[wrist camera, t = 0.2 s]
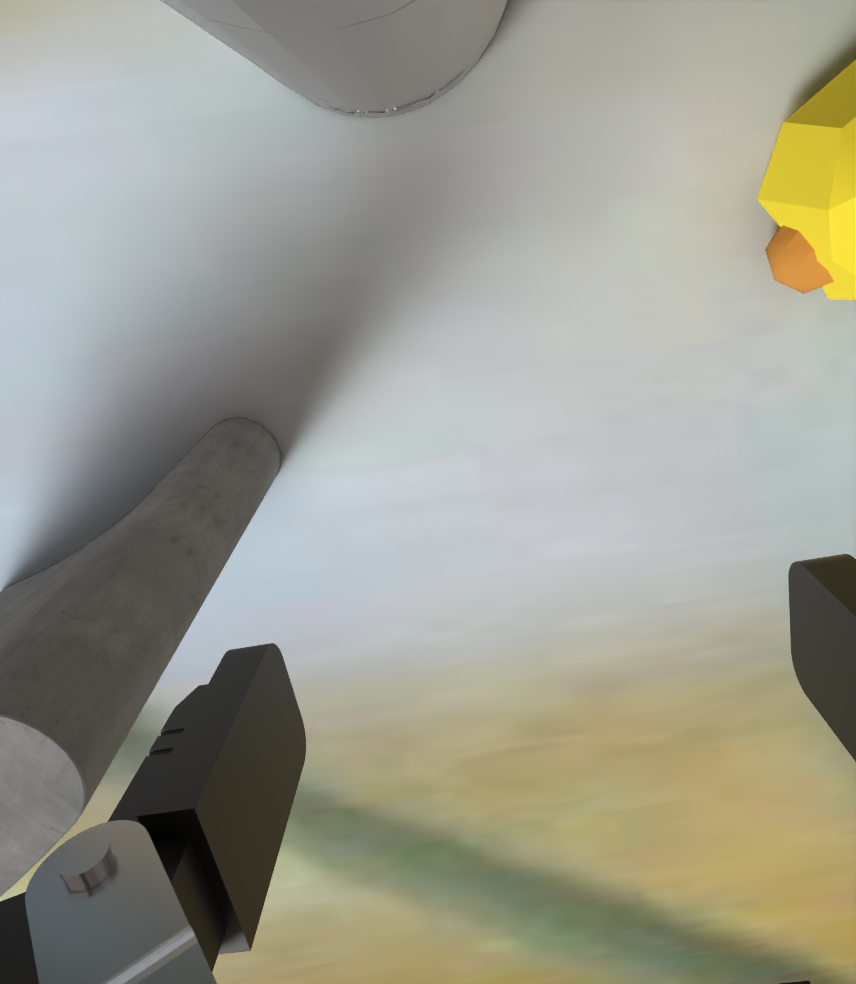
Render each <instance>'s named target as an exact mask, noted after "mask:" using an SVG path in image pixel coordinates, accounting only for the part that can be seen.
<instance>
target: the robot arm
mask: <svg viewBox="0 0 856 984" xmlns="http://www.w3.org/2000/svg"><path fill="white" fill-rule="evenodd" d="M161 1H162V2H164V3H165V4H167V5H168V6H169V7H171V8H172V9H174V10H175V11H177V12H178V13H180V14H181V15H183V16H184V17H186V18H187V19H189V20H190V21H192V22H193V23H195V24H196V25H197V26H199V27H200V28H202V29H203V30H205V31H206V32H208V33H209V34H211V35H212V36H214V37H215V38H217V39H218V40H220V41H221V42H223V43H224V44H226V45H227V46H228V47H230V48H231V49H233V50H234V51H236V52H237V53H239V54H240V55H242V56H243V57H245V58H246V59H248V60H249V61H251V62H252V63H254V64H255V65H256V66H258V67H259V68H261V69H262V70H264V71H265V72H266V73H268V74H269V75H271V76H272V77H274V78H275V79H277V80H278V81H280V82H281V83H283V84H284V85H286V86H287V87H289V88H290V89H292V90H293V91H295V92H296V93H298V94H300V95H301V96H303V97H305V98H306V99H308V100H310V101H311V102H313V103H314V104H316V105H318V106H321V107H324V108H326V109H329V110H332V111H335V112H338V113H341V114H344V115H350V116H360V117H370V118H377V117H384V116H392V115H399V114H404V113H407V112H409V111H412V110H414V109H417V108H419V107H422V106H424V105H427V104H429V103H431V102H433V101H434V100H436V99H437V98H439V97H440V96H441V95H443V94H444V93H446V92H447V91H449V90H450V89H452V88H453V87H455V86H456V85H457V84H458V83H459V82H460V80H461V79H462V78H463V77H464V76H465V75H466V74H467V73H468V72H469V71H470V70H471V69H472V68H473V67H474V66H475V65H476V63H477V62H478V61H479V59H480V57H481V56H482V54H483V53H484V51H485V49H486V48H487V46H488V45H489V43H490V41H491V40H492V38H493V37H494V35H495V33H496V30H497V28H498V25H499V22H500V20H501V17H502V15H503V12H504V9H505V7H506V4H507V2H508V0H161ZM789 606H790V634H791V654H792V661H793V665H794V669H795V672H796V675H797V678H798V681H799V683H800V685H801V687H802V689H803V691H804V693H805V694H806V696H807V697H808V698H809V700H810V701H811V702H812V704H813V705H814V706H815V708H816V709H817V710H818V712H819V713H820V714H821V716H822V717H823V718H824V720H825V721H826V722H827V724H828V725H829V726H830V728H831V729H832V730H833V732H834V733H835V734H836V736H837V737H838V739H839V740H840V741H841V743H842V744H843V745H844V747H845V748H846V749H847V751H848V752H849V753H850V755H851V756H852V757H853V759H854V760H855V761H856V559H855V558H854V557H852V556H851V555H848V554H842V555H835V556H829V557H823V558H816V559H810V560H804V561H797V562H794V563H792V565H791V566H790V570H789ZM149 753H150V755H149V756H146V758H145V759H144V761H143V763H142V764H141V766H140V768H139V769H138V771H137V773H136V775H135V776H134V778H133V780H132V781H131V783H130V785H129V786H128V788H127V790H126V792H125V793H124V795H123V797H122V798H121V800H120V802H119V804H118V805H117V807H116V809H115V810H114V812H113V814H112V815H111V817H110V819H109V821H108V822H106V823H102V824H99V825H96V826H94V827H91V828H89V829H87V830H85V831H83V832H81V833H79V834H77V835H76V836H74V837H72V838H71V839H69V840H68V841H66V842H65V843H64V844H62V845H61V846H59V847H58V848H57V849H56V850H55V851H54V852H53V853H51V854H50V855H49V856H48V857H47V858H46V859H45V860H44V862H43V863H42V864H41V865H40V866H39V868H38V869H37V870H36V872H35V873H34V875H33V876H32V878H31V880H30V882H29V884H28V887H27V890H26V892H24V893H22V894H19V895H17V896H14V897H11V898H9V899H6V900H4V901H1V902H0V984H217V983H216V980H215V978H214V976H213V974H212V971H213V968H214V965H215V962H216V959H217V956H218V954H226V953H235V952H244V951H251V947H252V944H253V940H254V937H255V933H256V930H257V926H258V923H259V919H260V916H261V912H262V909H263V905H264V902H265V898H266V895H267V891H268V888H269V884H270V881H271V877H272V874H273V870H274V867H275V863H276V860H277V856H278V853H279V849H280V846H281V842H282V839H283V835H284V832H285V828H286V825H287V821H288V818H289V814H290V811H291V807H292V804H293V800H294V797H295V793H296V790H297V786H298V783H299V779H300V776H301V772H302V769H303V765H304V761H305V754H306V737H305V729H304V724H303V720H302V717H301V714H300V711H299V707H298V704H297V701H296V698H295V695H294V691H293V688H292V685H291V682H290V679H289V675H288V672H287V669H286V666H285V663H284V659H283V656H282V654H281V651H280V649H279V648H278V646H277V645H275V644H274V643H271V644H264V645H258V646H252V647H245V648H239V649H233V650H229V651H227V652H226V653H225V655H224V656H223V658H222V660H221V662H220V664H219V666H218V667H217V669H216V671H215V673H214V675H213V677H212V678H211V680H210V682H209V684H207V685H200V686H198V687H197V688H196V689H195V690H194V691H193V692H191V693H190V694H189V695H188V696H187V697H186V698H185V699H184V700H183V701H182V702H181V703H179V704H178V705H177V706H176V707H175V708H174V710H173V712H172V713H171V715H170V717H169V718H168V720H167V722H166V724H165V725H164V727H163V729H162V730H161V736H158V737H157V739H156V741H155V742H154V744H153V746H152V747H151V749H150V751H149ZM781 984H810V981H801V982H791V983H781Z"/></svg>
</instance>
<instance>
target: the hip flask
mask: <svg viewBox="0 0 856 984" xmlns="http://www.w3.org/2000/svg"><path fill="white" fill-rule="evenodd" d="M280 464H281V453H280V449H279V446H278V444H277V442H276V440H275V438H274V437H273V435H272V434H271V433H270V432H269V431H268V430H267V429H266V428H265V427H263V426H262V425H260V424H258V423H256V422H254V421H252V420H248V419H243V418H233V419H227V420H225V421H222V422H220V423H218V424H217V425H215V426H214V427H213V428H212V429H211V430H210V431H209V432H208V433H207V434H206V435H205V436H204V437H203V438H202V439H201V440H200V441H199V442H198V444H197V445H196V446H195V447H194V448H193V449H192V450H191V451H190V452H189V453H188V454H187V455H186V456H185V457H184V458H183V459H182V460H181V461H180V462H179V463H178V464H177V465H176V466H175V467H174V469H173V470H172V471H171V472H170V473H169V474H168V475H167V476H166V477H165V478H164V479H163V480H162V481H161V482H160V483H159V484H158V485H157V486H156V487H155V488H154V489H153V490H152V491H151V492H150V494H149V495H148V496H147V497H146V498H145V499H144V500H143V501H142V502H141V503H140V504H139V505H138V506H137V507H136V508H134V509H133V510H132V511H131V512H129V513H128V514H127V515H126V516H124V517H123V518H122V519H120V520H119V521H118V522H116V523H115V524H114V525H113V526H111V527H110V528H109V529H107V530H106V531H105V532H103V533H102V534H101V535H99V536H98V537H96V538H95V539H93V540H92V541H91V542H89V543H88V544H86V545H85V546H83V547H82V548H80V549H79V550H77V551H75V552H74V553H72V554H71V555H69V556H67V557H66V558H64V559H62V560H61V561H59V562H57V563H55V564H53V565H52V566H50V567H48V568H46V569H44V570H42V571H40V572H38V573H36V574H34V575H32V576H30V577H28V578H26V579H24V580H21V581H19V582H17V583H14V584H12V585H10V586H8V587H6V588H5V589H4V590H3V591H2V592H0V896H1V895H3V894H4V893H5V892H6V891H7V890H9V889H10V888H11V887H12V886H13V885H14V884H15V883H16V882H17V881H19V880H20V879H21V878H22V877H23V876H24V875H25V874H26V873H27V872H28V871H29V870H30V869H31V868H32V867H33V866H34V865H35V864H36V863H37V862H38V861H39V860H41V859H42V858H43V857H44V856H45V855H46V854H47V853H48V852H49V851H50V849H51V848H52V847H53V846H54V845H55V844H56V843H57V842H58V841H59V840H60V839H61V838H62V837H63V836H64V835H65V834H66V833H67V832H68V831H69V830H70V828H71V827H72V826H73V825H74V824H75V823H76V822H77V820H78V819H79V817H80V816H81V814H82V813H83V811H84V809H85V807H86V806H87V804H88V802H89V800H90V799H91V797H92V795H93V793H94V792H95V790H96V788H97V787H98V785H99V783H100V781H101V780H102V778H103V776H104V774H105V773H106V771H107V769H108V767H109V766H110V764H111V762H112V760H113V759H114V757H115V755H116V754H117V752H118V750H119V748H120V747H121V745H122V743H123V741H124V740H125V738H126V736H127V734H128V733H129V731H130V729H131V727H132V726H133V724H134V722H135V720H136V719H137V717H138V715H139V714H140V712H141V710H142V708H143V707H144V705H145V703H146V701H147V700H148V698H149V696H150V694H151V693H152V691H153V689H154V687H155V686H156V684H157V682H158V681H159V679H160V677H161V675H162V674H163V672H164V670H165V668H166V667H167V665H168V663H169V661H170V660H171V658H172V656H173V654H174V653H175V651H176V649H177V648H178V646H179V644H180V642H181V641H182V639H183V637H184V635H185V634H186V632H187V630H188V628H189V627H190V625H191V623H192V621H193V620H194V618H195V616H196V615H197V613H198V611H199V609H200V608H201V606H202V604H203V602H204V601H205V599H206V597H207V595H208V594H209V592H210V590H211V588H212V587H213V585H214V583H215V581H216V580H217V578H218V576H219V575H220V573H221V571H222V569H223V568H224V566H225V564H226V562H227V561H228V559H229V557H230V555H231V554H232V552H233V550H234V548H235V547H236V545H237V543H238V542H239V540H240V538H241V536H242V535H243V533H244V531H245V529H246V528H247V526H248V524H249V522H250V521H251V519H252V517H253V515H254V514H255V512H256V510H257V509H258V507H259V505H260V503H261V502H262V500H263V498H264V496H265V495H266V493H267V491H268V489H269V488H270V486H271V484H272V482H273V481H274V479H275V477H276V476H277V474H278V471H279V469H280Z"/></svg>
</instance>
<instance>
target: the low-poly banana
mask: <svg viewBox="0 0 856 984" xmlns="http://www.w3.org/2000/svg"><path fill="white" fill-rule="evenodd" d="M757 200H758V201H759V202H760V203H761V204H762V206H763V207H764V208H765V209H766V210H767V212H768V213H769V214H770V215H771V216H772V218H773V219H774V220H775V221H776V223H777V224H778V225H779V228H778V230H777V231H776V233H775V235H774V236H773V238H772V239H771V241H770V243H769V244H768V246H767V248H766V249H765V251H766V254H767V257H768V260H769V263H770V266H771V270H772V273H773V276H774V279H775V280H776V281H778V282H780V283H782V284H784V285H786V286H788V287H791V288H793V289H795V290H797V291H799V292H801V293H803V294H804V293H807V292H809V291H812V290H814V289H817V288H819V287H823V289H824V291H825V293H826V295H827V297H828V299H832V300H856V60H854V61H853V62H852V63H851V64H850V65H849V66H848V67H846V68H845V69H844V70H843V71H842V72H841V73H839V74H838V75H837V76H836V77H835V78H834V79H833V80H831V81H830V82H829V83H828V84H827V85H826V86H824V87H823V88H822V89H821V90H820V91H819V92H818V93H816V94H815V95H814V96H813V97H812V98H811V99H809V100H808V101H807V102H806V103H805V104H804V105H802V106H801V107H800V108H799V109H798V110H797V111H796V112H794V113H793V114H792V115H791V116H790V117H789V118H787V119H786V120H785V121H784V122H783V124H782V127H781V130H780V133H779V136H778V139H777V142H776V145H775V148H774V151H773V154H772V157H771V160H770V163H769V166H768V169H767V171H766V174H765V177H764V180H763V183H762V186H761V189H760V192H759V195H758V198H757Z"/></svg>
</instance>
